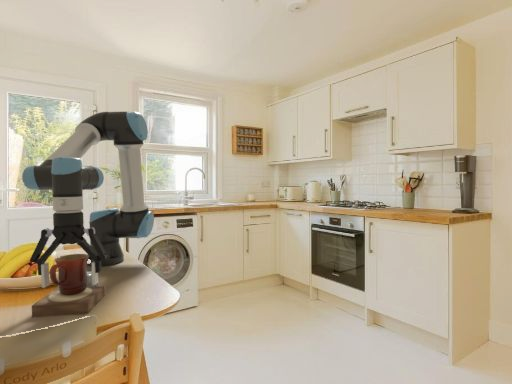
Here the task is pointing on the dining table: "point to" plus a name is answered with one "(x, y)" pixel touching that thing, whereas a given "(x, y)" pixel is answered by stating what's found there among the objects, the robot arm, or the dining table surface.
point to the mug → (70, 273)
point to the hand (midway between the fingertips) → (70, 285)
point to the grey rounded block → (90, 279)
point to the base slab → (68, 302)
